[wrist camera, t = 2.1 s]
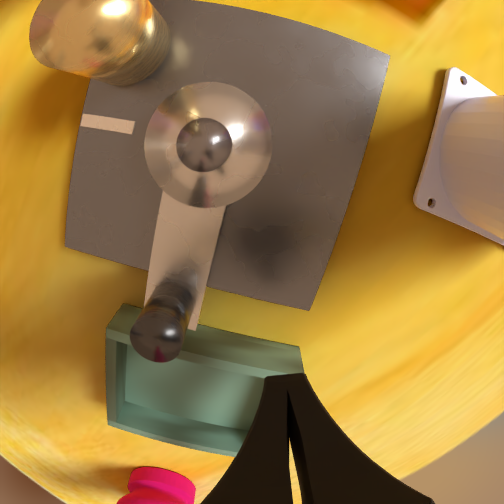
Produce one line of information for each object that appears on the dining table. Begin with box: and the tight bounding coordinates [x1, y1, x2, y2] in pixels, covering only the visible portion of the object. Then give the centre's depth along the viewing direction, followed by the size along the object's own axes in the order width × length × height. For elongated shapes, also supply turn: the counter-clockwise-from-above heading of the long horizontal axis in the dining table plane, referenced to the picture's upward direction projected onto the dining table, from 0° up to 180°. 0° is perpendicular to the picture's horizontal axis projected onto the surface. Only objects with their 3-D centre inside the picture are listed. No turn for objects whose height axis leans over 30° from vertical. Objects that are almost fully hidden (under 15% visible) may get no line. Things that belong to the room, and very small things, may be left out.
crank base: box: [65, 0, 390, 311], centre depth 14 cm, size 13×13×1 cm
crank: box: [130, 82, 273, 363], centre depth 12 cm, size 11×5×4 cm, turn 165°
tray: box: [106, 303, 304, 457], centre depth 18 cm, size 10×8×3 cm
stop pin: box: [29, 0, 170, 86], centre depth 9 cm, size 4×4×5 cm
